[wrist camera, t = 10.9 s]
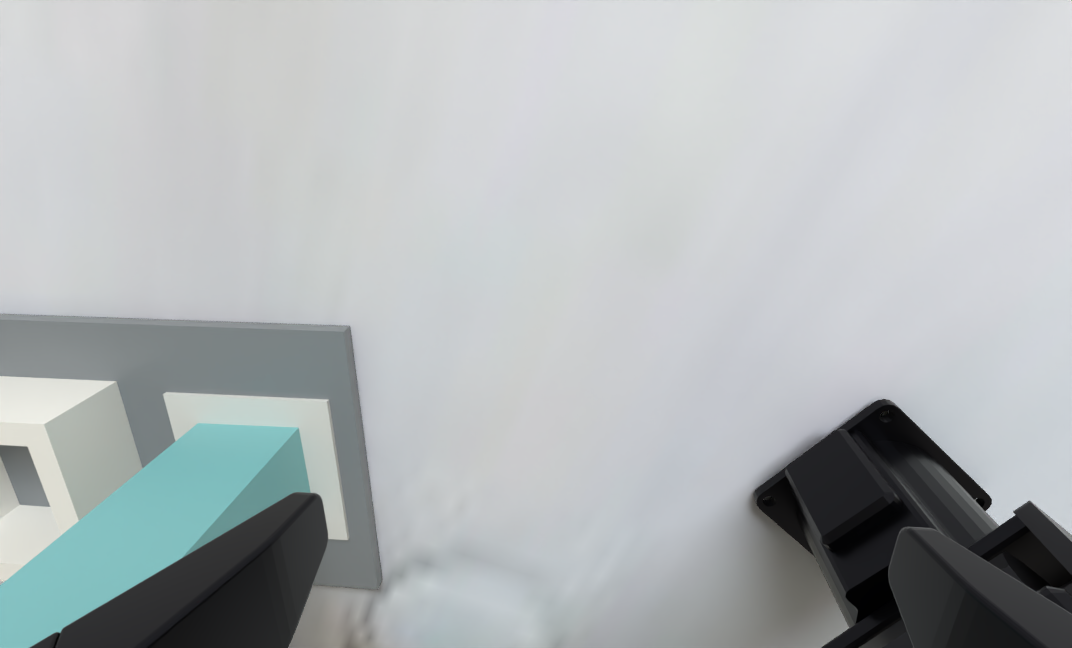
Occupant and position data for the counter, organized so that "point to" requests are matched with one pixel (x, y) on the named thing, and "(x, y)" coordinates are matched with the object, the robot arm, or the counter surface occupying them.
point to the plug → (152, 524)
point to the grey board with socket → (172, 419)
